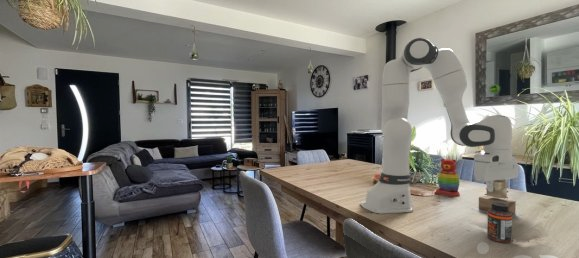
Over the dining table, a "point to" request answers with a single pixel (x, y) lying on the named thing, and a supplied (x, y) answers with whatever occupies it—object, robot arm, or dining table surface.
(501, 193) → the oak block
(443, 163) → the stacking bear
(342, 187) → the dining table surface
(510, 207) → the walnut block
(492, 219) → the supplement bottle
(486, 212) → the base plate
